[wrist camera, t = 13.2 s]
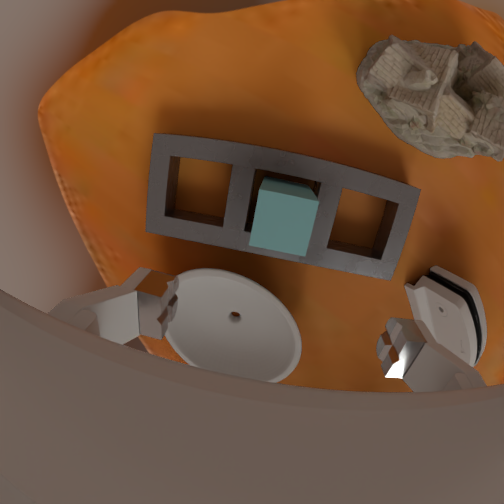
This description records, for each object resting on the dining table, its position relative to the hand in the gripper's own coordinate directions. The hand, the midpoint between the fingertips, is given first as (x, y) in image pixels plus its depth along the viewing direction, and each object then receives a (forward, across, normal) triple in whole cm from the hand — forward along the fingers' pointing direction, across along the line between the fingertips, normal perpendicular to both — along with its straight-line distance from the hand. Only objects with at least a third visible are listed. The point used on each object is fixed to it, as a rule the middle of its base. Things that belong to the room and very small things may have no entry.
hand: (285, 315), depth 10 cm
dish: (+20, +3, +14) cm, 25 cm away
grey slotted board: (+19, 0, 0) cm, 19 cm away
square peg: (+20, 0, 0) cm, 20 cm away
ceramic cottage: (+20, -14, -17) cm, 30 cm away
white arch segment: (+20, -25, +10) cm, 33 cm away
